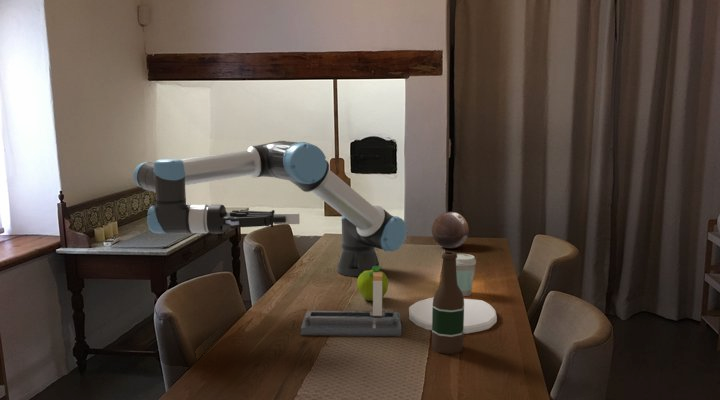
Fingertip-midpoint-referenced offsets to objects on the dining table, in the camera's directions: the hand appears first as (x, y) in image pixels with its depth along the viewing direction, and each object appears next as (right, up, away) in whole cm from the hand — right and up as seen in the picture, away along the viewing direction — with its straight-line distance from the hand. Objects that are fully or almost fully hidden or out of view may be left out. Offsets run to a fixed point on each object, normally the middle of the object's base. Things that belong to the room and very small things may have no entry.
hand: (299, 218), depth 166 cm
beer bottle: (+37, -32, -10) cm, 50 cm away
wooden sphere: (+53, -15, +96) cm, 111 cm away
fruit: (+20, -26, +28) cm, 43 cm away
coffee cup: (+48, -25, +34) cm, 64 cm away
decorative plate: (+42, -29, +13) cm, 52 cm away
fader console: (+14, -29, +5) cm, 33 cm away
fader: (+21, -27, +4) cm, 34 cm away
